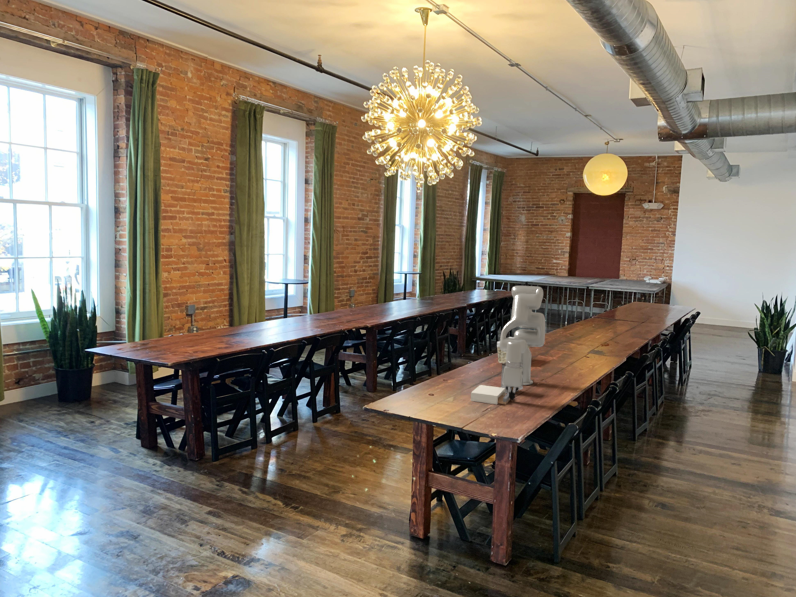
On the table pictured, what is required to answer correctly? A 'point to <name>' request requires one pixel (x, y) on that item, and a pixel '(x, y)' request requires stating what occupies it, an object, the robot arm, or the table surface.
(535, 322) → the robot arm
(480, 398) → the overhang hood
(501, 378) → the coffee box
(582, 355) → the table surface
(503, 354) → the storage basket
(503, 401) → the tan flat board
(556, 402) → the table surface
